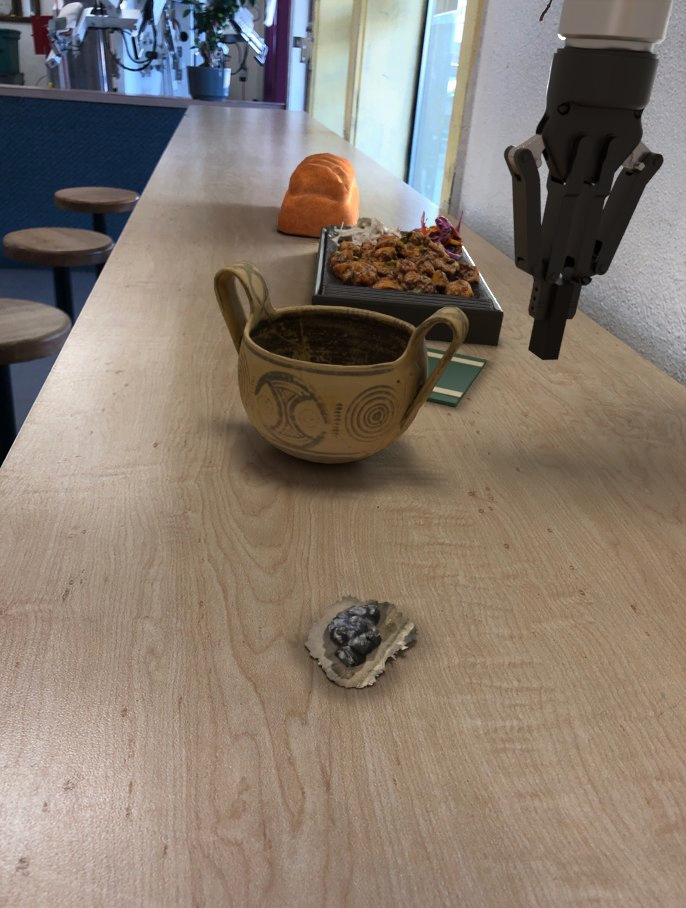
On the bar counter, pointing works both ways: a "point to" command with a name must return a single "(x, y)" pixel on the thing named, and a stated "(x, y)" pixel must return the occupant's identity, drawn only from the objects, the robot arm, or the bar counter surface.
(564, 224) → the robot arm
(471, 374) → the dish cloth
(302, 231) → the bread
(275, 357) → the ceramic bowl
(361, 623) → the dark lumps on shell
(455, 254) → the food platter
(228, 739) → the bar counter surface
